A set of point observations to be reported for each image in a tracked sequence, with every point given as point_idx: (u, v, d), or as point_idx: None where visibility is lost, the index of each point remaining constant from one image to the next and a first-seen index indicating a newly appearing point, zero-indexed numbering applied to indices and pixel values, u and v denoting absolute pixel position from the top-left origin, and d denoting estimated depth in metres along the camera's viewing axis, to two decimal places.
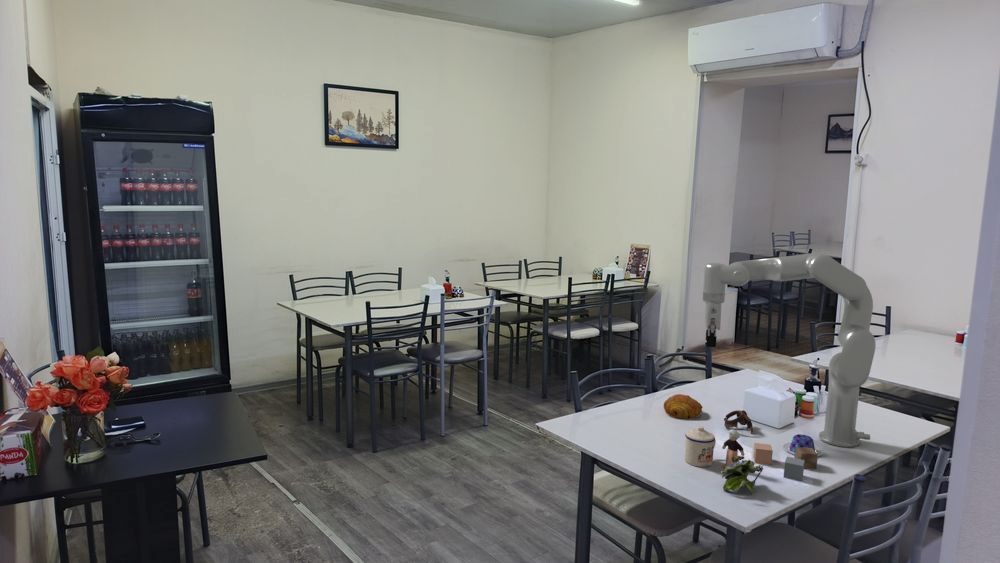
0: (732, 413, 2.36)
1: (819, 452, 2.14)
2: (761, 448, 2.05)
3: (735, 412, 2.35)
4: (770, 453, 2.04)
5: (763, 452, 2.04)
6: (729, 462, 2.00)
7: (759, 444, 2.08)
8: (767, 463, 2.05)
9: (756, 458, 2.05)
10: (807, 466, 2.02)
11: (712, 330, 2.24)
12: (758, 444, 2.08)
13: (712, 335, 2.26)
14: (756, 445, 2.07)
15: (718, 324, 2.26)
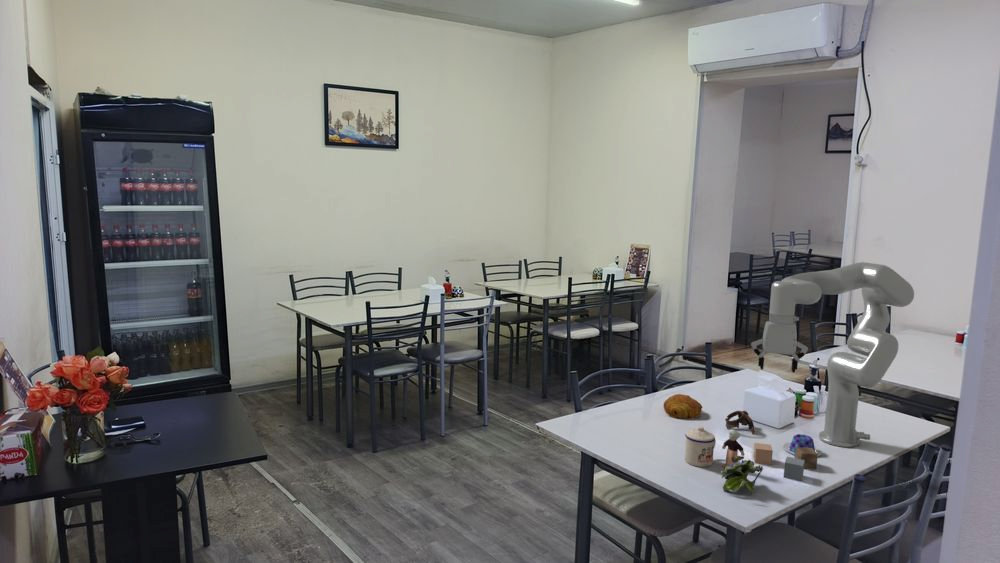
0: (733, 413, 2.35)
1: (819, 452, 2.14)
2: (761, 448, 2.05)
3: (736, 412, 2.35)
4: (770, 453, 2.04)
5: (763, 452, 2.04)
6: (729, 462, 2.00)
7: (759, 444, 2.08)
8: (767, 463, 2.05)
9: (756, 458, 2.05)
10: (807, 466, 2.02)
11: None
12: (758, 444, 2.08)
13: None
14: (756, 445, 2.07)
15: None
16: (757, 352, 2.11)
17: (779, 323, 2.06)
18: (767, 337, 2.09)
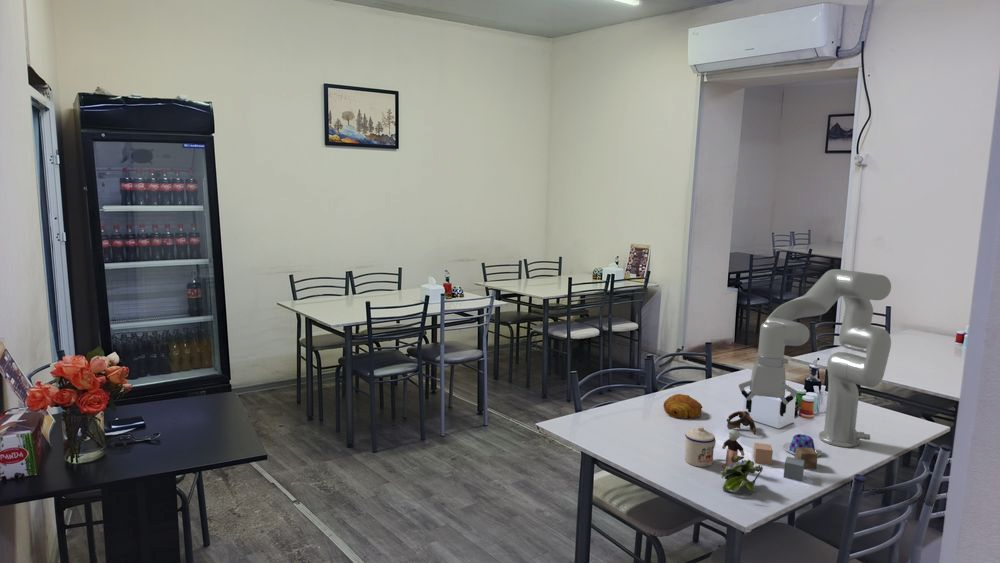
0: (735, 414, 2.35)
1: (819, 452, 2.14)
2: (761, 448, 2.05)
3: (738, 413, 2.34)
4: (770, 453, 2.04)
5: (763, 452, 2.04)
6: (729, 462, 2.00)
7: (759, 444, 2.08)
8: (767, 463, 2.05)
9: (756, 458, 2.05)
10: (807, 466, 2.02)
11: None
12: (758, 444, 2.08)
13: None
14: (756, 445, 2.07)
15: None
16: (745, 394, 2.05)
17: (768, 366, 1.99)
18: (755, 379, 2.02)
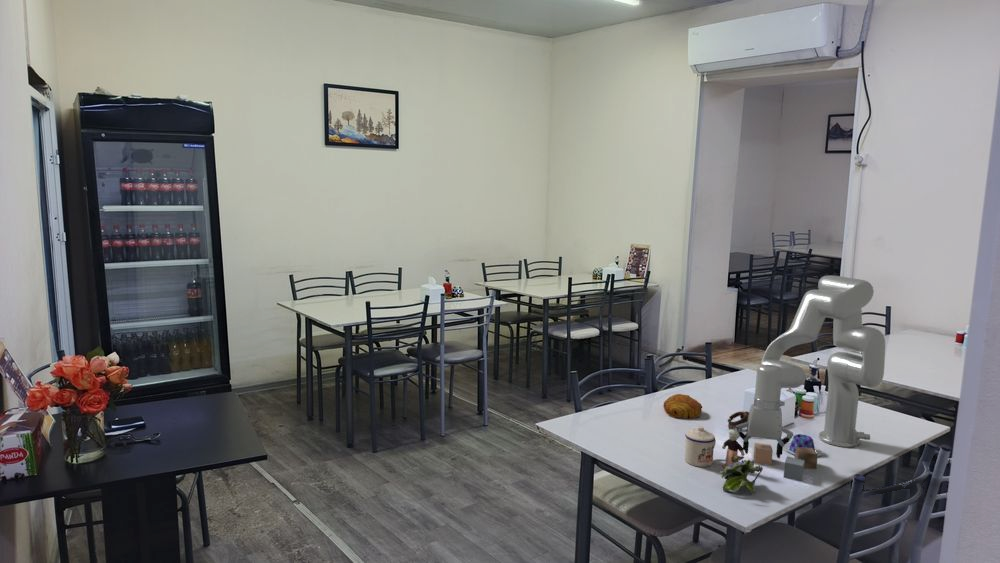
0: (736, 414, 2.34)
1: (819, 452, 2.14)
2: (761, 448, 2.05)
3: (739, 413, 2.34)
4: (770, 453, 2.04)
5: (763, 452, 2.04)
6: (729, 462, 2.00)
7: (759, 444, 2.08)
8: (767, 463, 2.05)
9: (756, 458, 2.05)
10: (807, 466, 2.02)
11: None
12: (758, 444, 2.08)
13: None
14: (756, 445, 2.07)
15: None
16: (742, 436, 2.07)
17: (764, 408, 2.01)
18: (752, 421, 2.04)
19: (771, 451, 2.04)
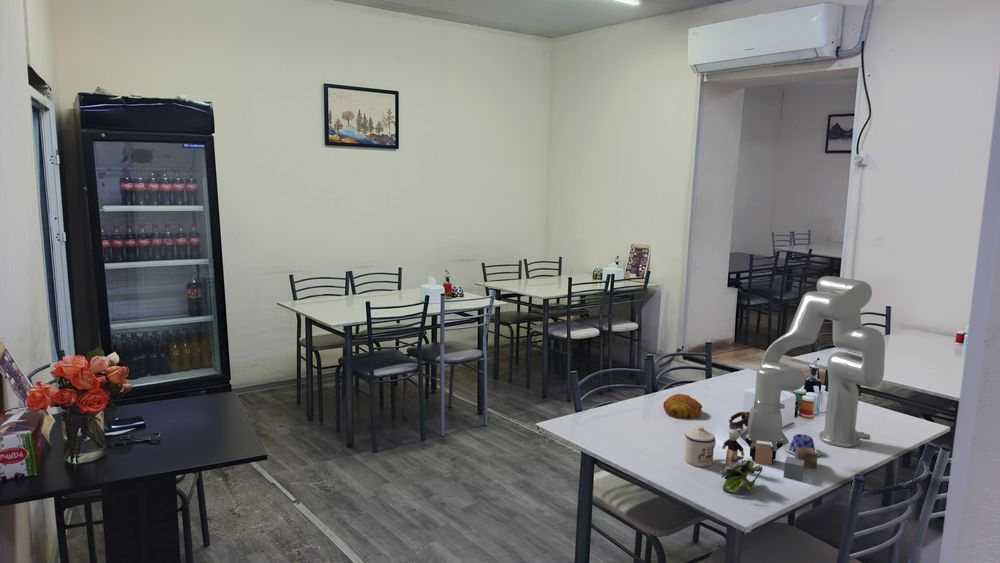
0: (737, 415, 2.34)
1: (819, 453, 2.14)
2: (761, 448, 2.05)
3: (740, 414, 2.33)
4: (770, 453, 2.04)
5: (763, 452, 2.04)
6: (729, 462, 2.00)
7: (759, 444, 2.08)
8: (767, 463, 2.05)
9: (756, 458, 2.05)
10: (807, 466, 2.02)
11: None
12: (758, 444, 2.08)
13: None
14: (756, 445, 2.07)
15: None
16: (748, 442, 2.07)
17: (764, 411, 2.02)
18: (752, 424, 2.05)
19: (771, 451, 2.04)
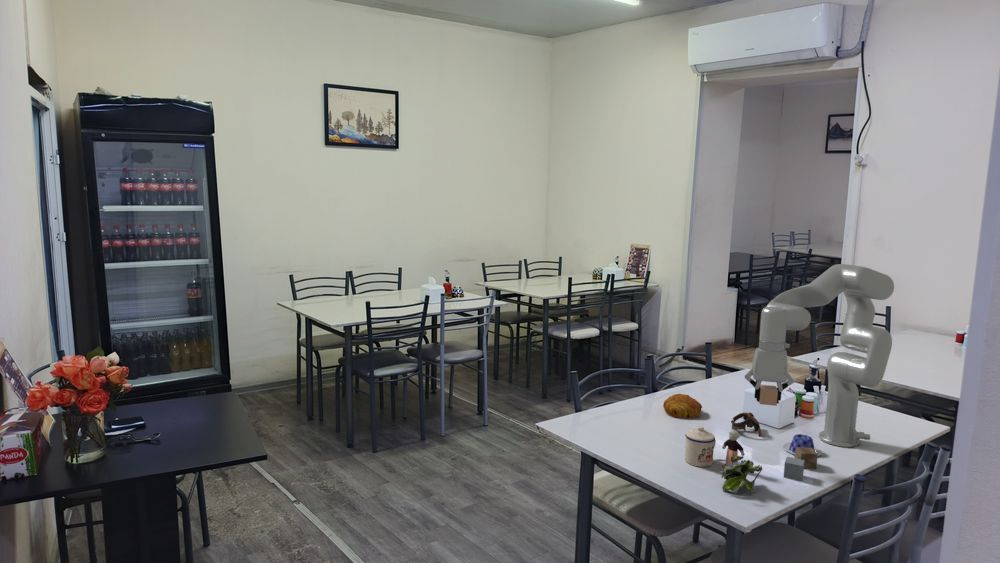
0: (739, 415, 2.33)
1: (819, 453, 2.13)
2: (766, 388, 2.02)
3: (742, 414, 2.33)
4: (775, 393, 2.01)
5: (768, 392, 2.02)
6: (729, 462, 2.00)
7: (764, 385, 2.05)
8: (772, 403, 2.02)
9: (761, 399, 2.02)
10: (807, 466, 2.02)
11: None
12: (763, 385, 2.05)
13: None
14: (761, 386, 2.05)
15: None
16: (753, 383, 2.04)
17: (769, 350, 1.99)
18: (757, 364, 2.02)
19: (776, 391, 2.01)
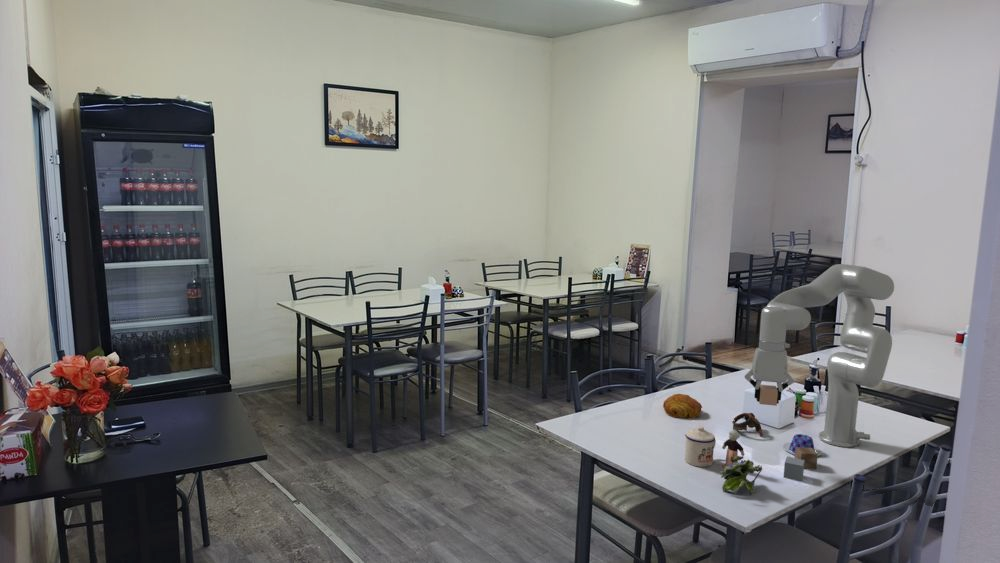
0: (740, 416, 2.33)
1: (819, 453, 2.13)
2: (766, 388, 2.02)
3: (743, 415, 2.32)
4: (775, 393, 2.01)
5: (768, 392, 2.02)
6: (729, 462, 2.00)
7: (764, 385, 2.05)
8: (772, 403, 2.02)
9: (761, 399, 2.02)
10: (807, 466, 2.02)
11: None
12: (763, 385, 2.05)
13: None
14: (761, 386, 2.05)
15: None
16: (753, 383, 2.04)
17: (769, 350, 1.99)
18: (757, 364, 2.02)
19: (776, 391, 2.01)
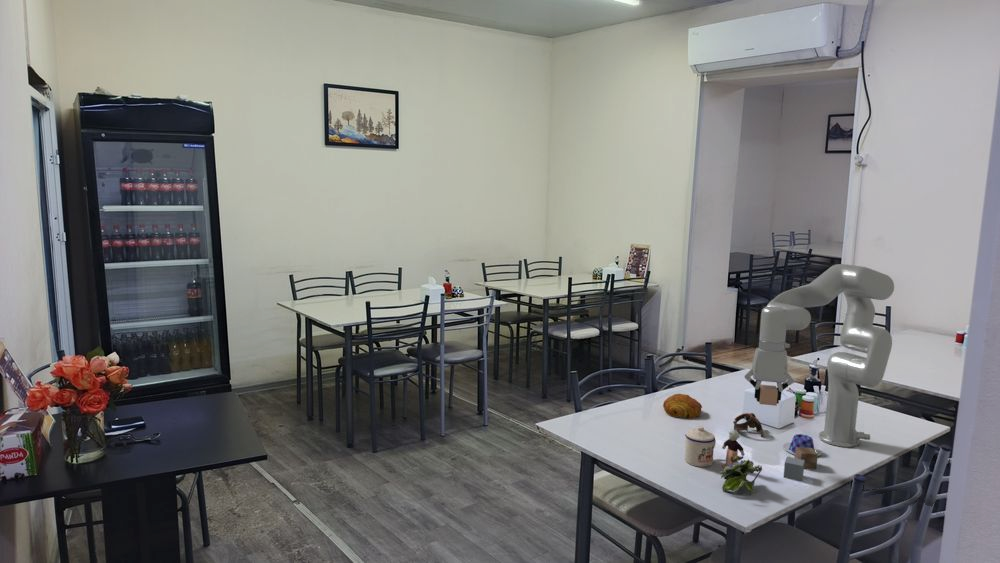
0: (741, 416, 2.33)
1: (819, 454, 2.13)
2: (766, 388, 2.02)
3: (744, 415, 2.32)
4: (775, 393, 2.01)
5: (768, 392, 2.02)
6: (729, 462, 2.00)
7: (764, 385, 2.05)
8: (772, 403, 2.02)
9: (761, 399, 2.02)
10: (807, 466, 2.02)
11: None
12: (763, 385, 2.05)
13: None
14: (761, 386, 2.05)
15: None
16: (753, 383, 2.04)
17: (769, 350, 1.99)
18: (757, 364, 2.02)
19: (776, 391, 2.01)
